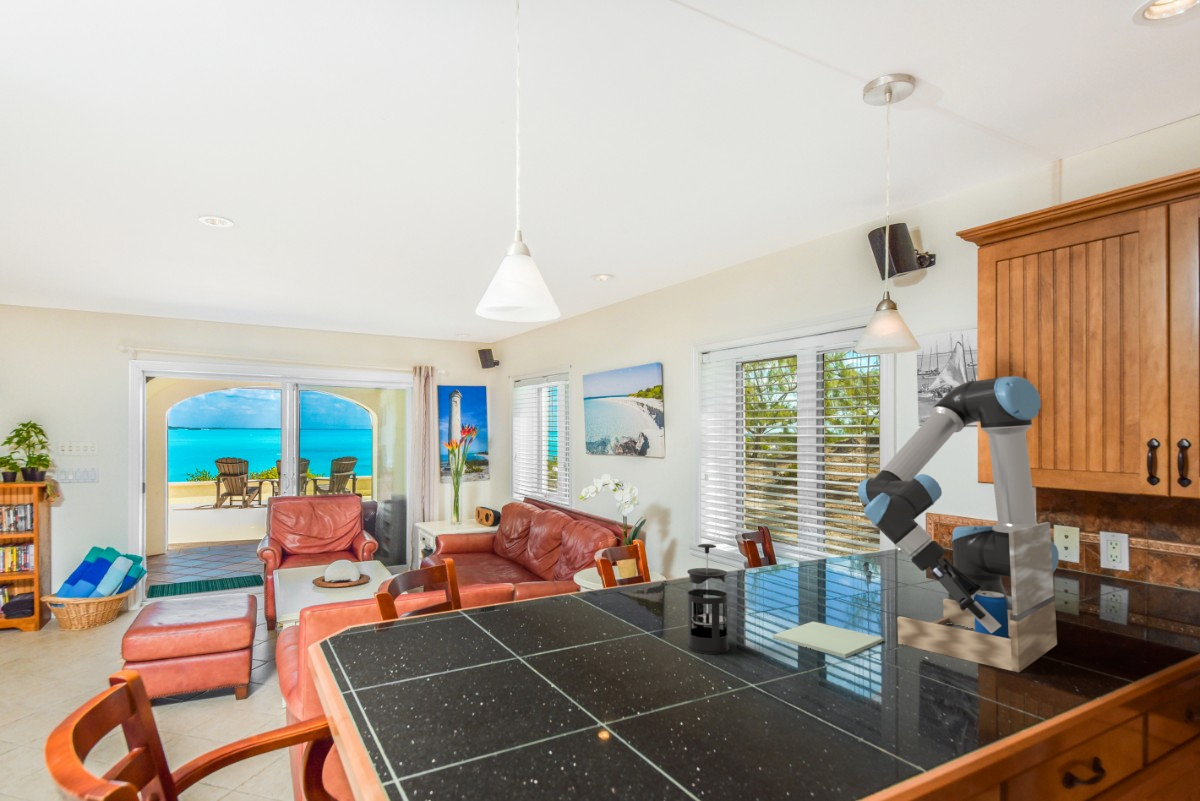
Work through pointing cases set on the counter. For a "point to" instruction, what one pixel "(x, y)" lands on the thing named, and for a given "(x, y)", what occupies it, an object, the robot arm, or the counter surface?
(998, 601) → the beverage can
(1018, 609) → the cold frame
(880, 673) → the counter surface
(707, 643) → the french press
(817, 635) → the mat
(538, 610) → the counter surface
